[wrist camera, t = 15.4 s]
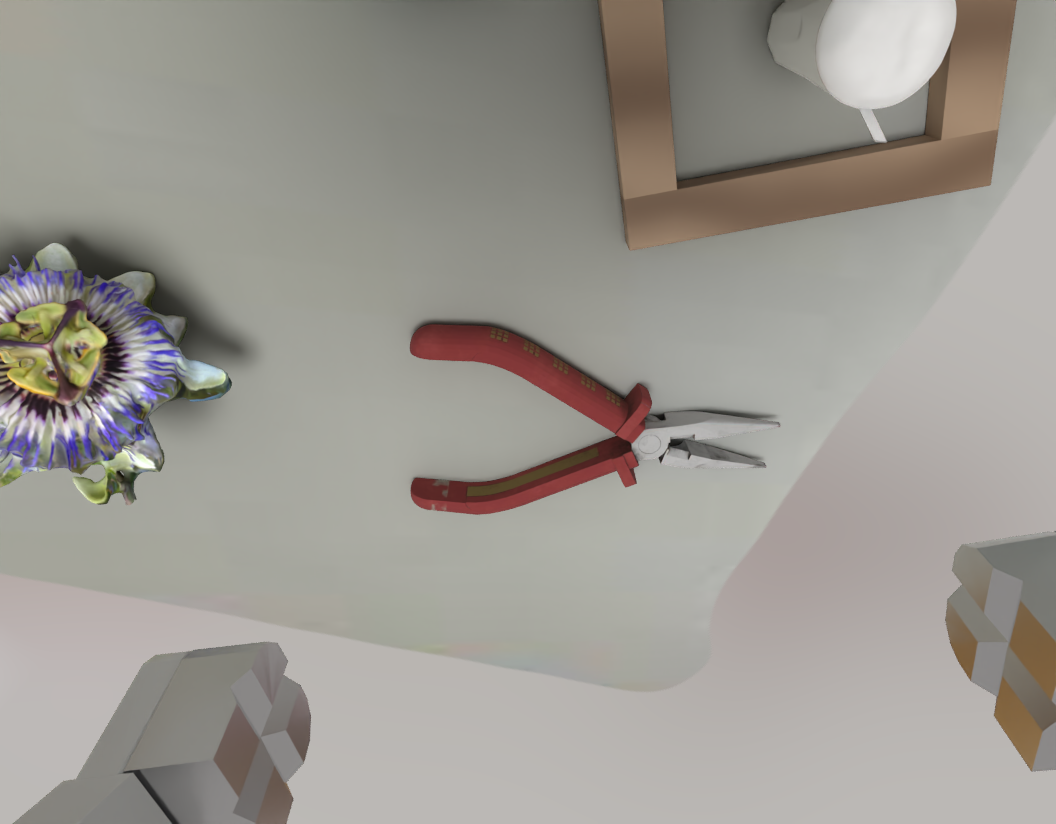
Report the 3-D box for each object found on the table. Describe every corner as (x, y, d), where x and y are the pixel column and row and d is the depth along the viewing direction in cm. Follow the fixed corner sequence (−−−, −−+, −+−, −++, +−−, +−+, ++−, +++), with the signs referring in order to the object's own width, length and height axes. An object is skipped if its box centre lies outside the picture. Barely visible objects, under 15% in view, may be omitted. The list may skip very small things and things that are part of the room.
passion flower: (188, 250, 42) (266, 347, 33) (136, 426, 45) (195, 556, 37) (-93, 179, 33) (-85, 286, 24) (-131, 406, 36) (-137, 571, 28)
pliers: (742, 512, 45) (754, 540, 43) (413, 491, 44) (406, 518, 42) (793, 342, 39) (810, 363, 37) (413, 313, 38) (406, 333, 36)
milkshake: (737, 101, 32) (814, 136, 24) (766, -36, 30) (865, -53, 21) (833, 110, 33) (945, 148, 24) (870, -26, 30) (1011, -38, 21)
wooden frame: (583, -120, 28) (586, -126, 27) (1023, -220, 27) (1049, -232, 26) (625, 241, 36) (629, 250, 34) (972, 178, 34) (990, 185, 33)
